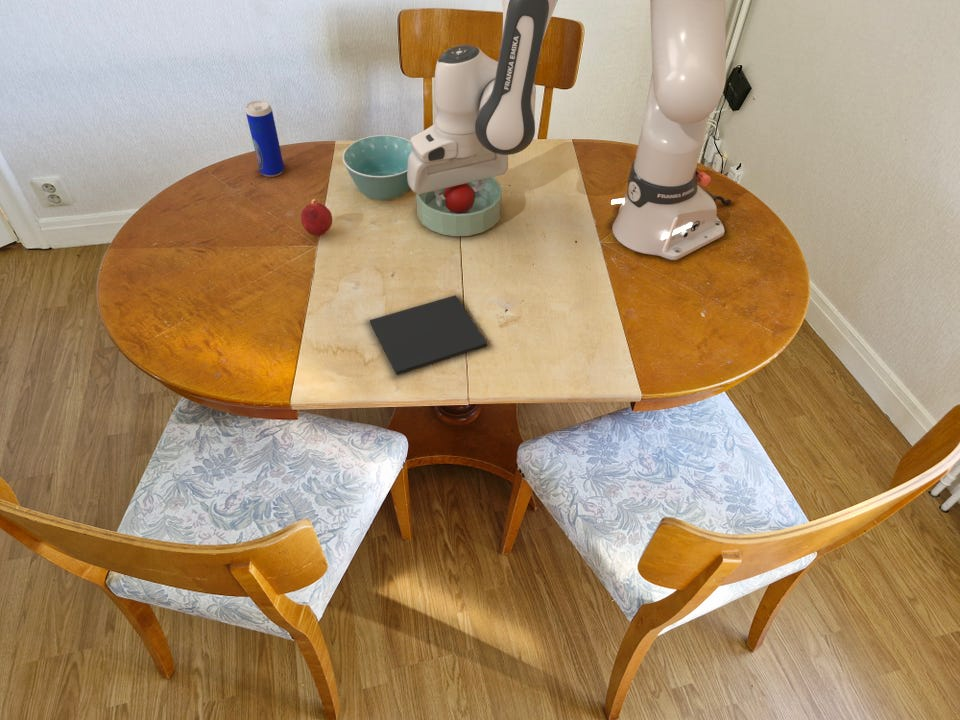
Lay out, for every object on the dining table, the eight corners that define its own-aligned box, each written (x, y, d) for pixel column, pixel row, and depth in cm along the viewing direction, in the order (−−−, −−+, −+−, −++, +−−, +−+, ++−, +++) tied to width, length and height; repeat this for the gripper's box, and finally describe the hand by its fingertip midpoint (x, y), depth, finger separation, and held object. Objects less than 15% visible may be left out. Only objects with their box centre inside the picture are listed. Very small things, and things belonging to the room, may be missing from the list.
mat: (455, 298, 123) (455, 295, 123) (486, 346, 115) (487, 342, 115) (370, 323, 118) (369, 319, 118) (396, 375, 110) (396, 371, 110)
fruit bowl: (479, 182, 149) (479, 160, 145) (514, 226, 138) (516, 203, 134) (405, 200, 143) (403, 177, 139) (436, 247, 133) (435, 223, 129)
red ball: (466, 199, 143) (467, 171, 139) (479, 215, 139) (480, 188, 135) (438, 206, 141) (437, 178, 137) (450, 223, 137) (450, 195, 133)
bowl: (412, 214, 140) (410, 179, 134) (337, 206, 141) (332, 171, 135) (428, 173, 151) (427, 138, 145) (358, 165, 152) (354, 131, 146)
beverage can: (259, 166, 151) (243, 101, 140) (283, 163, 152) (269, 98, 141) (261, 179, 147) (245, 113, 136) (285, 176, 149) (272, 110, 138)
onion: (328, 246, 132) (322, 211, 127) (300, 241, 133) (292, 207, 127) (338, 228, 136) (333, 193, 130) (310, 224, 137) (304, 189, 131)
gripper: (501, 119, 134) (498, 181, 144) (402, 140, 127) (406, 203, 137) (516, 134, 130) (511, 197, 140) (414, 156, 124) (417, 220, 134)
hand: (458, 200), depth 139 cm, fingers closed on red ball, 6 cm apart
